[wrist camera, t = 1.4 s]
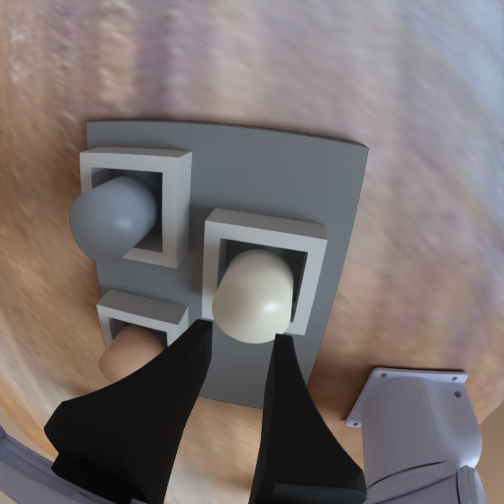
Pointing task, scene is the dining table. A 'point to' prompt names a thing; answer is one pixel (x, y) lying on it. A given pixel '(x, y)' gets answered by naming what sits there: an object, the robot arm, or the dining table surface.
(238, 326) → the cream button
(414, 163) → the dining table surface
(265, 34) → the dining table surface
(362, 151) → the button panel
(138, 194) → the slate-blue button
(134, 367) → the terracotta button
